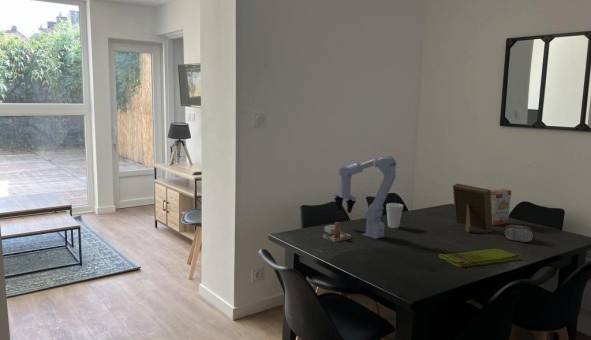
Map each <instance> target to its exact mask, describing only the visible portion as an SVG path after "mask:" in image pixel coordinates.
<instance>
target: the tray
mask: <svg viewBox="0 0 591 340" xmlns="http://www.w3.org/2000/svg"><path fill="white" fill-rule="evenodd" d="M352 238H353V235H352V234H349V233H346V232H344V231H340V238H334V232H332V233H328V232H326V233H322V239H325V240H329V241H331V242H333V243H337V242H343V241H345V240H350V239H352Z"/></svg>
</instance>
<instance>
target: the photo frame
mask: <svg viewBox="0 0 591 340" xmlns="http://www.w3.org/2000/svg"><path fill="white" fill-rule="evenodd" d="M452 190H453V192H452V193H453V204H454V207H453V208H454V216H455V217H454V219H455V225H458V224H459V225H460V226H461V227H465V226H466V227H465V232H467V233H468V234H469V233H470V231H471V229H472V228H474V229H473V230H476V229H477V231H479V230H481V231H480V232H483V231H485V232H484V233H487V232H489V233H490V232H492V231H493V226H492V211H491V191H490V190H491V189H487V188H483V187H478V186H473V185H467V184H462V183H456V184H453V185H452Z"/></svg>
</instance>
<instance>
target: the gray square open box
mask: <svg viewBox="0 0 591 340" xmlns="http://www.w3.org/2000/svg"><path fill="white" fill-rule="evenodd" d="M341 230H342V229H341V226H340V232H342V231H341ZM323 232H325V233H332V232H335V224H329V225H326V226H324V227H323Z"/></svg>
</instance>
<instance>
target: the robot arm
mask: <svg viewBox="0 0 591 340" xmlns="http://www.w3.org/2000/svg"><path fill="white" fill-rule="evenodd" d="M396 166H397V161H396V159H395V158H394V157H393V156H383V157H377V158H373V159H371V160H368V161H364V162H360V161H354V162H353V163H350V164H347V165H346V166H342V167H340V168H339V170H338V173H339V176H340V186H339V187H340V188H339V189H340V191H339V192H335V193H334V201H335V203H336V206H337V210H338V211H341V210H342V208H343V203H344V202H343V201H344V199H345V202H346V206H347V211H346V212H347V214H350V213H352V210H353V208H354V205H355V203H356V202H357V201H356V199H357V198H356V197H355V196H353V195H351V191H352V190H351V189H352V186H351V185H352V176H353V175H356V174H360V173H362V172H363V171H364V169H368V168H372V167H375V168H378V170H379V171H380V172H381V173H382V175H383V179H382V181H381V184H380V186H379V188H378V190H377V192H376V195H375V197H374V199H373V201H372V202H371V203H370V205H368V208H367V209H365V210H364V217H365V219H366V221H365V222H366V225H365V233H362V235H363V236H366V237H370V238H371V239H374V240H375V239H379V238H385V237H386V235H385V223H384V222H383V221H381V217H382V216H383V214H384V213H383V212H384V211H383V210H384V203H385V201H386V199H387V197H388V194H389V193H390V190H391V188H392V186H393V183H394V182H395V179H396V177H397V175H396V174H397V172H396V170H397V168H396Z"/></svg>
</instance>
